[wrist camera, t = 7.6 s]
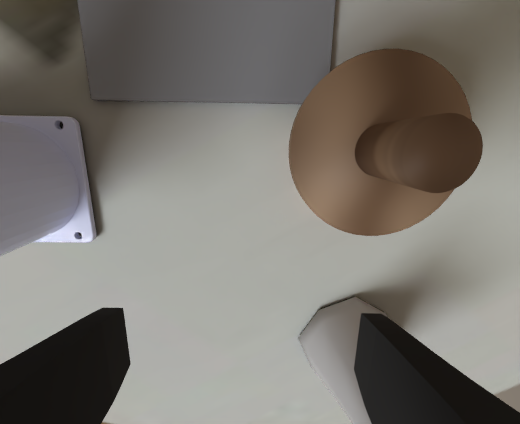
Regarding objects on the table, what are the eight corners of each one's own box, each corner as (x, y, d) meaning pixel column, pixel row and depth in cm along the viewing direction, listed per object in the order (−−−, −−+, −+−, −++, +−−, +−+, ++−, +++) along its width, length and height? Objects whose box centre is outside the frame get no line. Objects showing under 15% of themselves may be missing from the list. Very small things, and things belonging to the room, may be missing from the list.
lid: (292, 236, 15) (310, 285, 10) (284, 61, 13) (302, 7, 8) (449, 224, 15) (550, 268, 10) (471, 47, 13) (618, -19, 7)
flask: (281, 334, 20) (302, 508, 11) (356, 279, 19) (457, 418, 9) (336, 389, 22) (399, 587, 12) (410, 341, 21) (545, 517, 11)
